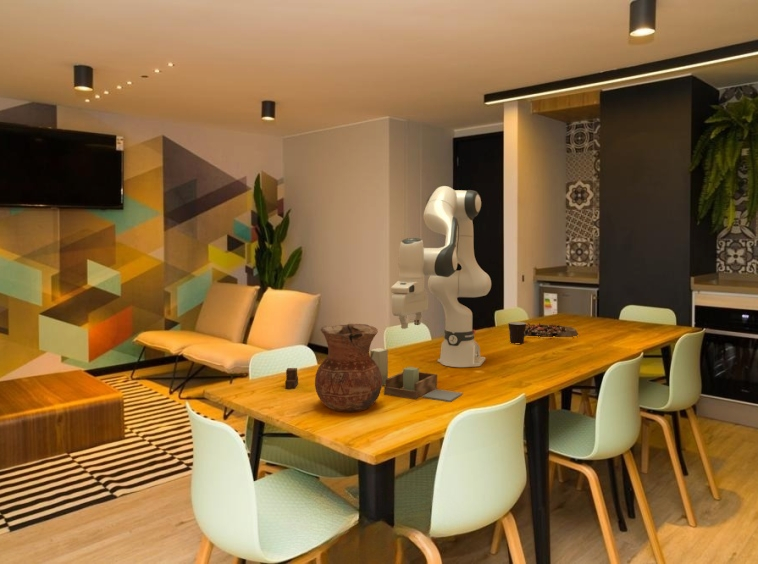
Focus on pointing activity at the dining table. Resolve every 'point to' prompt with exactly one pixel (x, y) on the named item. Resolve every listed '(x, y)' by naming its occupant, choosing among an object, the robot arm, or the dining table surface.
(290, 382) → the stack of crates
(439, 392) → the pad
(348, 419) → the dining table surface
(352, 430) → the dining table surface
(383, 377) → the box
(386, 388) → the caddy
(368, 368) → the brown clay vase
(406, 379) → the block
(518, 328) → the dark brown cup
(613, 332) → the dining table surface
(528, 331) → the food dish
